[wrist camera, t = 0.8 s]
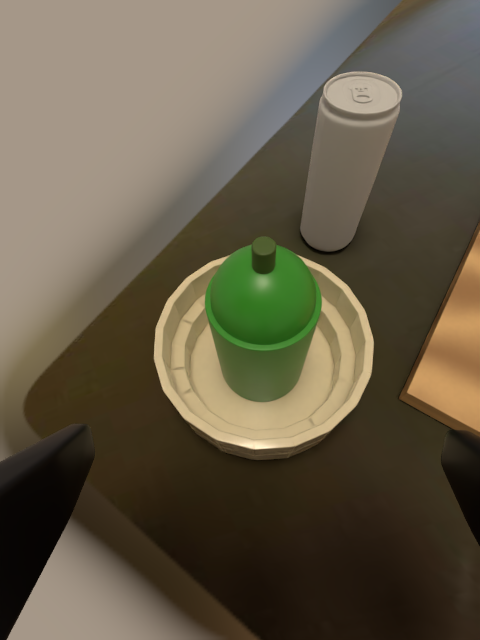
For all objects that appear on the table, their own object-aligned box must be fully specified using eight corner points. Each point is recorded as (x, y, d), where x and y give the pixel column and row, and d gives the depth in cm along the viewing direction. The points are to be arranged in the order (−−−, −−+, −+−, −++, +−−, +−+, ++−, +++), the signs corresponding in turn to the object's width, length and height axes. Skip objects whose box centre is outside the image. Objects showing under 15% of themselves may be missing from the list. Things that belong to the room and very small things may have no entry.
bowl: (372, 452, 21) (402, 438, 17) (169, 467, 22) (146, 457, 17) (332, 285, 28) (346, 243, 23) (175, 297, 28) (160, 258, 24)
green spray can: (308, 399, 23) (353, 301, 12) (222, 405, 23) (190, 313, 12) (295, 323, 26) (323, 189, 15) (219, 329, 26) (191, 199, 15)
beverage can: (351, 215, 31) (397, 69, 21) (356, 255, 29) (411, 114, 19) (298, 214, 32) (319, 70, 21) (299, 254, 29) (322, 115, 19)
